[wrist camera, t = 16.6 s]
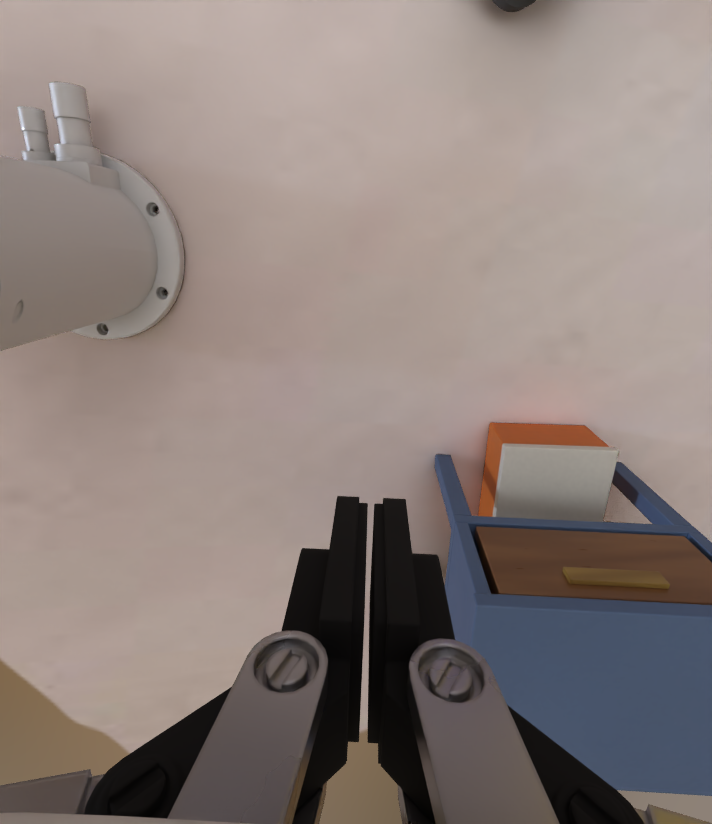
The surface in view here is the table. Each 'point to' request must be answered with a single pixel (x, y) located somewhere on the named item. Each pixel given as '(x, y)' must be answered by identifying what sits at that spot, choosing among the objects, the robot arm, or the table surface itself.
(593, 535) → the drawer
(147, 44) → the table surface
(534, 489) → the storage box
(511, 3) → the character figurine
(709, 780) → the drawer unit
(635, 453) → the table surface
